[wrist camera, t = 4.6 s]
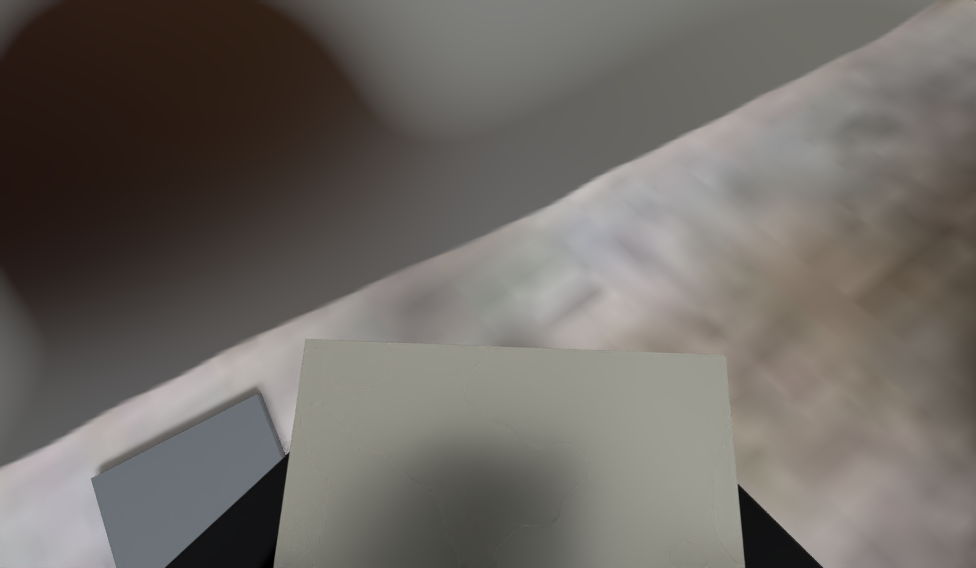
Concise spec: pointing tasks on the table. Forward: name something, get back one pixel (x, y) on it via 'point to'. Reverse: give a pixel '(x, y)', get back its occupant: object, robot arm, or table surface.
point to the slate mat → (184, 484)
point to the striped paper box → (509, 459)
